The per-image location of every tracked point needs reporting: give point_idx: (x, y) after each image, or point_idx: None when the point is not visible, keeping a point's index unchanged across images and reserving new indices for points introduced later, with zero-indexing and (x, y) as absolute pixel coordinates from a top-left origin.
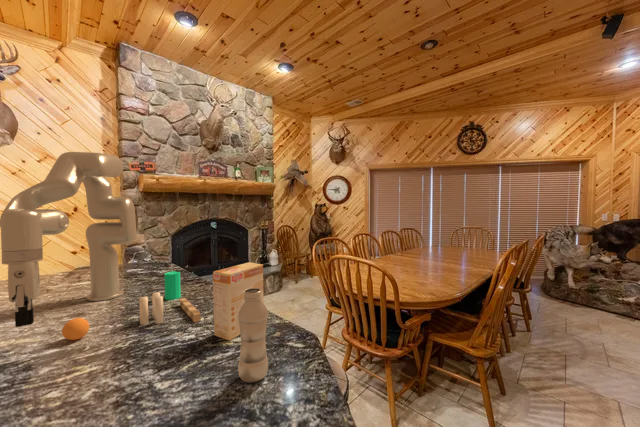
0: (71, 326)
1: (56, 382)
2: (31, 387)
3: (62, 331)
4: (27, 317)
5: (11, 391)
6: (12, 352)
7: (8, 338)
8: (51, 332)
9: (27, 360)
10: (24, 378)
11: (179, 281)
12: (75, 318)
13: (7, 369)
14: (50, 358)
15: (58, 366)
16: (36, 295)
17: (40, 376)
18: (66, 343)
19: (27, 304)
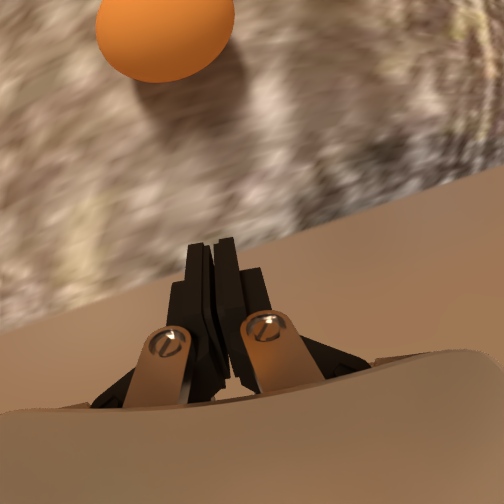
0: (223, 18)
1: (497, 79)
2: (490, 125)
3: (190, 74)
4: (263, 286)
5: (481, 161)
6: None
7: (51, 309)
8: (29, 184)
9: (316, 169)
10: (444, 146)
11: None
12: (142, 7)
13: (354, 209)
14: (350, 93)
15: (428, 68)
16: (451, 382)
17: (457, 110)
18: None
19: (360, 363)
